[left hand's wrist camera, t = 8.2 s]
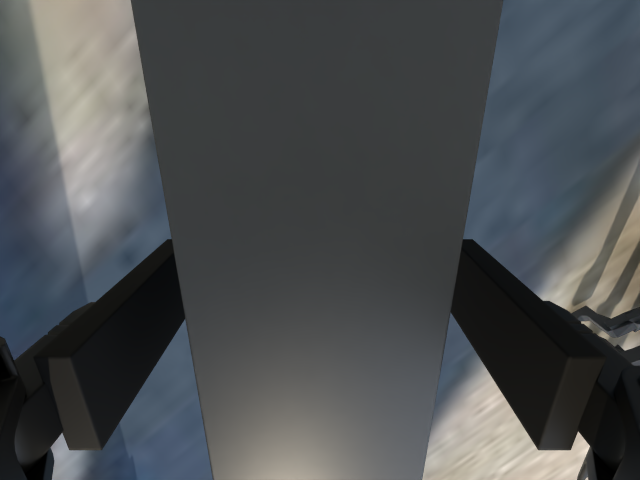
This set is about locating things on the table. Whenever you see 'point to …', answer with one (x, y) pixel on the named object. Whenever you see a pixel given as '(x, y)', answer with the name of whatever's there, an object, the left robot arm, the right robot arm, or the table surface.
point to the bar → (317, 217)
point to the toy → (615, 328)
